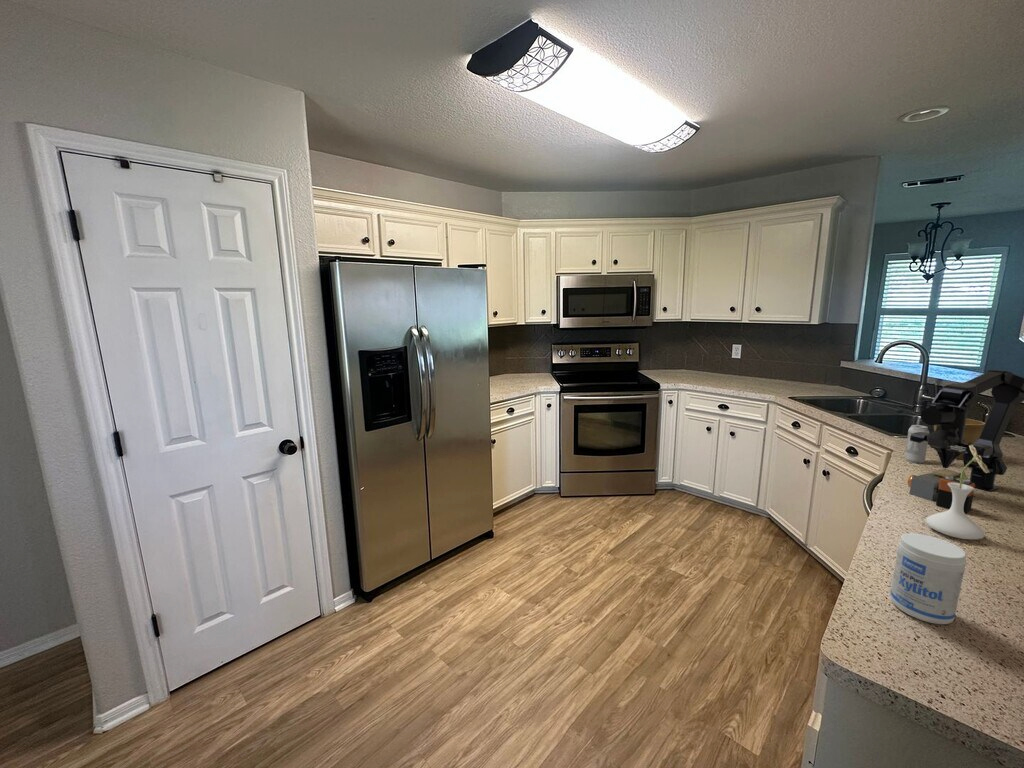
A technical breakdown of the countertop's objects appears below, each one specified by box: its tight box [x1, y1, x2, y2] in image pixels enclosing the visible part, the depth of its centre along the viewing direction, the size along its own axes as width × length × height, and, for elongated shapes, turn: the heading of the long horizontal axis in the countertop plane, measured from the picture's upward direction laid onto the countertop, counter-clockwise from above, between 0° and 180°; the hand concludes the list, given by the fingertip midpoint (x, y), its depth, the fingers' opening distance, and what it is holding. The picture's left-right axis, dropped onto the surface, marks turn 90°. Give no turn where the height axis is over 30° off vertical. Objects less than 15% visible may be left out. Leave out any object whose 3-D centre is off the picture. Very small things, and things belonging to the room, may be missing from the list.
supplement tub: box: [889, 532, 967, 625], centre depth 84 cm, size 10×10×15 cm
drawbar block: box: [909, 472, 963, 502], centre depth 139 cm, size 16×6×6 cm, turn 109°
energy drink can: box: [904, 424, 930, 464], centre depth 169 cm, size 6×6×15 cm
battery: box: [935, 476, 975, 514], centre depth 128 cm, size 4×7×10 cm, turn 27°
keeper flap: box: [931, 468, 961, 477], centre depth 140 cm, size 7×4×1 cm, turn 109°
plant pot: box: [933, 418, 986, 460], centre depth 174 cm, size 15×15×16 cm
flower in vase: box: [924, 445, 990, 540], centre depth 113 cm, size 13×11×25 cm
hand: (945, 467), depth 139 cm, fingers closed
